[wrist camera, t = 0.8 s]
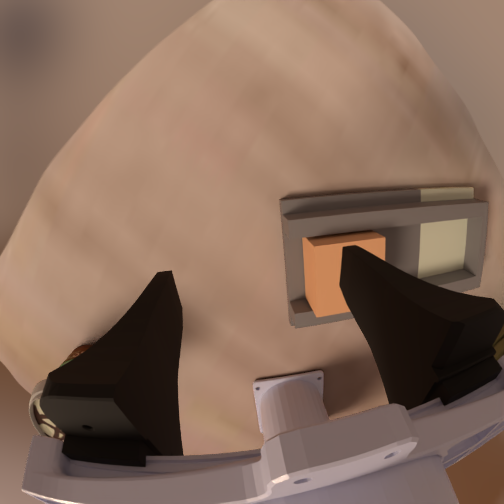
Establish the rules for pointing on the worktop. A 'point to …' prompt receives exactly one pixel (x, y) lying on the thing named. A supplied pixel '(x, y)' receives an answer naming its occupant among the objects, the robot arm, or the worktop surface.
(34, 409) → the food container
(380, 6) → the worktop surface
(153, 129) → the worktop surface
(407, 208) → the chute
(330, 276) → the block
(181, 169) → the worktop surface
